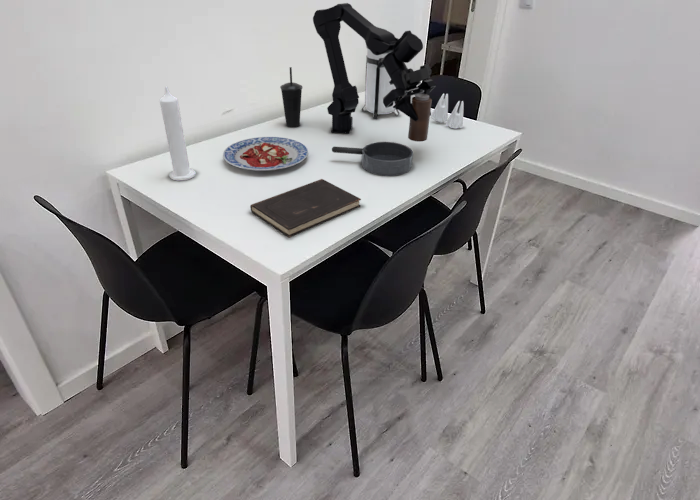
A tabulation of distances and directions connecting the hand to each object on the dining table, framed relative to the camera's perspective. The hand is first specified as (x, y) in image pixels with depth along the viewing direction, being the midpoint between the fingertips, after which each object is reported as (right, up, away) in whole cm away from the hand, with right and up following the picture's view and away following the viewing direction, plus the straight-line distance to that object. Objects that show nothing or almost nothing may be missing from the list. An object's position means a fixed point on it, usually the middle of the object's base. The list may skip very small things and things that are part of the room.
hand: (423, 118), depth 144 cm
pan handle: (-22, -10, +3) cm, 24 cm away
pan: (-11, -13, +4) cm, 17 cm away
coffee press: (-11, +14, +45) cm, 48 cm away
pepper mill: (-1, -5, +5) cm, 7 cm away
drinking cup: (-42, +6, +31) cm, 53 cm away
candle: (-70, -18, -5) cm, 72 cm away
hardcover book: (-33, -29, -20) cm, 48 cm away
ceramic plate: (-48, -11, +6) cm, 49 cm away
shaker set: (+14, +7, +35) cm, 38 cm away
